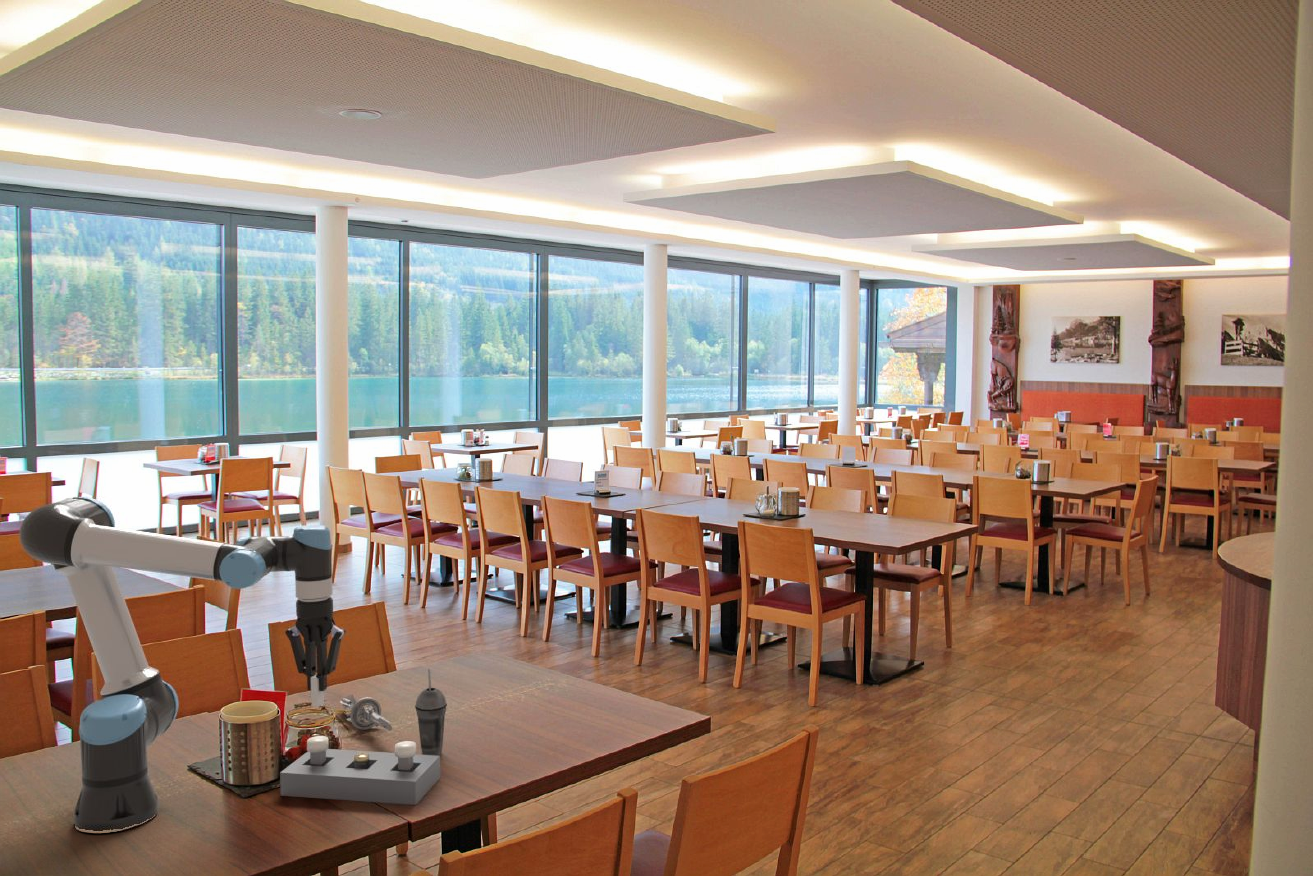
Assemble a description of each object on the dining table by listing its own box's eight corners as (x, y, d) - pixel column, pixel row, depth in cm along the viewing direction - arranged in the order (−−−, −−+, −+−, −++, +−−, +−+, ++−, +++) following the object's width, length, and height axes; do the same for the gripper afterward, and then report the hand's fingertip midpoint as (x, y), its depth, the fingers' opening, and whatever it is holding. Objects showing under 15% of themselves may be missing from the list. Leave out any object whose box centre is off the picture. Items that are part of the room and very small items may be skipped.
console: (415, 805, 211) (415, 781, 211) (280, 795, 216) (280, 772, 215) (440, 778, 225) (439, 755, 224) (312, 769, 229) (312, 748, 229)
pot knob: (365, 772, 218) (365, 759, 218) (351, 772, 219) (351, 758, 218) (372, 767, 221) (371, 753, 221) (358, 766, 222) (357, 752, 221)
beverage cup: (420, 762, 234) (418, 676, 232) (412, 751, 240) (410, 668, 239) (451, 756, 237) (450, 672, 236) (442, 746, 244) (441, 663, 242)
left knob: (322, 766, 219) (322, 744, 218) (303, 765, 219) (303, 742, 219) (332, 759, 223) (331, 736, 223) (313, 757, 224) (313, 735, 223)
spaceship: (369, 722, 237) (399, 703, 242) (323, 697, 266) (350, 681, 270) (383, 750, 239) (412, 731, 243) (336, 723, 268) (363, 706, 272)
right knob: (411, 772, 216) (411, 749, 215) (391, 771, 216) (391, 748, 216) (419, 764, 220) (419, 741, 220) (400, 763, 221) (399, 740, 220)
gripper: (350, 594, 221) (354, 700, 223) (294, 592, 223) (298, 698, 225) (334, 602, 214) (338, 712, 216) (277, 600, 216) (280, 709, 218)
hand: (317, 705), depth 220 cm, fingers closed
